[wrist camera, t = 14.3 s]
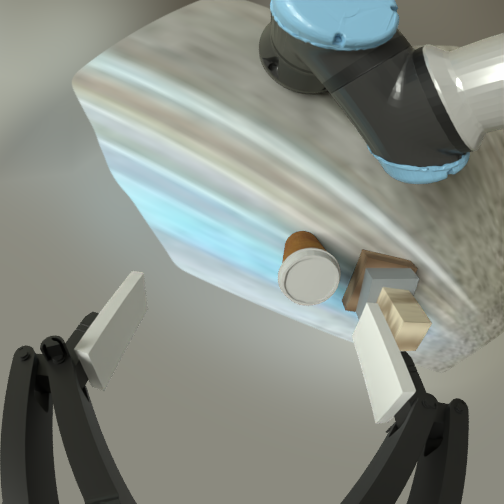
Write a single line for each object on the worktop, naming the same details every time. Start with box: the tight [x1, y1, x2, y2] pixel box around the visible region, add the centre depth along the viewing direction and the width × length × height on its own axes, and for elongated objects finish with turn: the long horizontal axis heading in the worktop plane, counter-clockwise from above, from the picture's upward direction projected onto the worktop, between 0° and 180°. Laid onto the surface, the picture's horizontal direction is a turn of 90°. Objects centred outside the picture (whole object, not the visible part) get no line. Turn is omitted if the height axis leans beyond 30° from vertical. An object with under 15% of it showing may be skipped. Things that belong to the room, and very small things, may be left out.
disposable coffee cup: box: [278, 231, 341, 306], centre depth 44 cm, size 10×10×12 cm
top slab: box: [356, 268, 419, 319], centre depth 47 cm, size 10×10×4 cm
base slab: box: [342, 249, 417, 312], centre depth 51 cm, size 12×12×4 cm
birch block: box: [376, 287, 432, 351], centre depth 41 cm, size 6×6×10 cm
